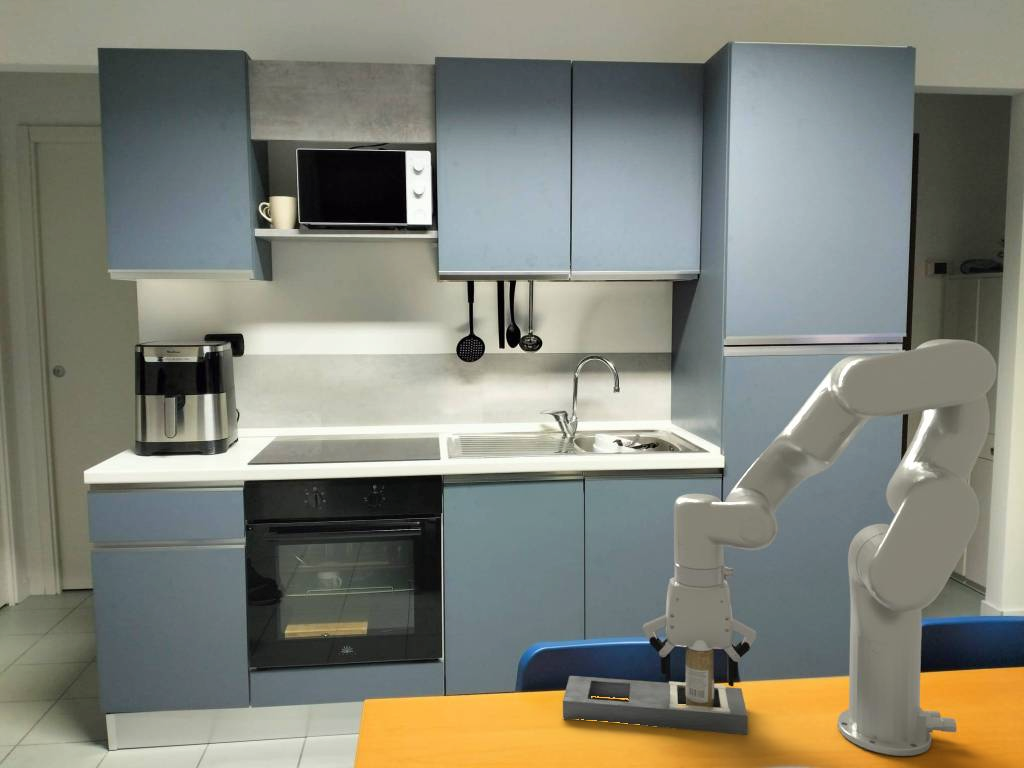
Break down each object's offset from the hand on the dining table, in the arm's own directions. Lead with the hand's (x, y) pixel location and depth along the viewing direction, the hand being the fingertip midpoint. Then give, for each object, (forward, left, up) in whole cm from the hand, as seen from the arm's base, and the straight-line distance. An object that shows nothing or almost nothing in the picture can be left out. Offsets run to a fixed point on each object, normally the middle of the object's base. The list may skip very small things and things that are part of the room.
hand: (698, 680), depth 120 cm
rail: (+7, 0, -6) cm, 9 cm away
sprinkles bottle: (0, 0, -6) cm, 6 cm away
